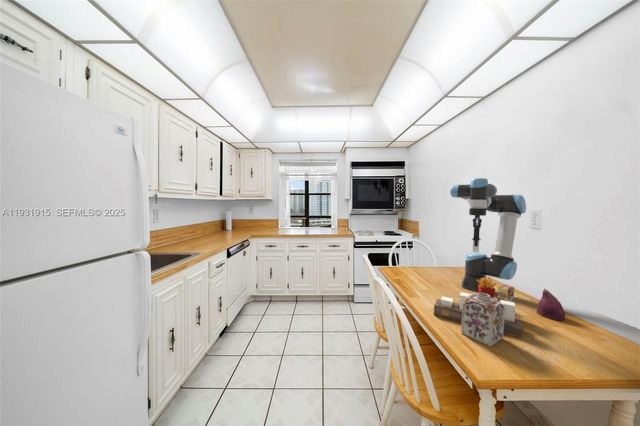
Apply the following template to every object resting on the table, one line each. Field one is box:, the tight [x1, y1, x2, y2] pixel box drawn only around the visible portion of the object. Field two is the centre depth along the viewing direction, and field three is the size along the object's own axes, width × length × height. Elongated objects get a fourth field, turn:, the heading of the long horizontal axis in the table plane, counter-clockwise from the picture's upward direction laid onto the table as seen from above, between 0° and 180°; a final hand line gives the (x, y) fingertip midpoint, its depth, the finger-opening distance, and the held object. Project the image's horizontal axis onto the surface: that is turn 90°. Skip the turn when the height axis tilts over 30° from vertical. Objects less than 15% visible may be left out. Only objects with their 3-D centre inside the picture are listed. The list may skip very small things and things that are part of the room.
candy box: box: [496, 284, 515, 302], centre depth 119 cm, size 9×4×15 cm, turn 123°
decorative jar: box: [460, 292, 505, 347], centre depth 101 cm, size 12×12×18 cm
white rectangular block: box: [440, 296, 454, 308], centre depth 121 cm, size 5×5×7 cm
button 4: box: [500, 300, 517, 322], centre depth 107 cm, size 5×5×7 cm
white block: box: [458, 291, 471, 310], centre depth 116 cm, size 5×5×7 cm
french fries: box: [476, 276, 497, 299], centre depth 136 cm, size 9×8×15 cm
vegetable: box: [536, 288, 566, 322], centre depth 122 cm, size 10×10×15 cm
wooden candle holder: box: [433, 298, 524, 338], centre depth 114 cm, size 10×34×5 cm, turn 56°
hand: (475, 252), depth 128 cm, fingers closed
